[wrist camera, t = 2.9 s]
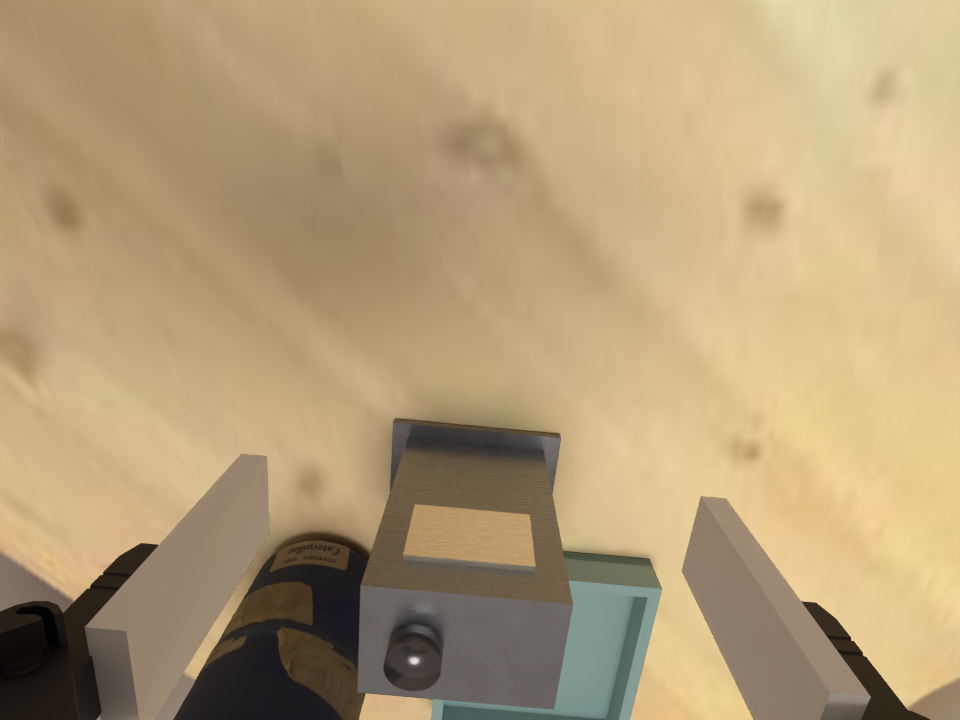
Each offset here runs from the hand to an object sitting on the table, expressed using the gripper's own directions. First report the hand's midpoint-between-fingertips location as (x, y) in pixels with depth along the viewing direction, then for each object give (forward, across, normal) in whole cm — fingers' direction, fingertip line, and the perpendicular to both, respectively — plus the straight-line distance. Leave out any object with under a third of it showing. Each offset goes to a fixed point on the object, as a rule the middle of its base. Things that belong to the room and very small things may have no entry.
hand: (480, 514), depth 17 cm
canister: (+19, -10, -20) cm, 29 cm away
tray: (+19, +6, -23) cm, 30 cm away
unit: (+19, 0, -10) cm, 21 cm away
